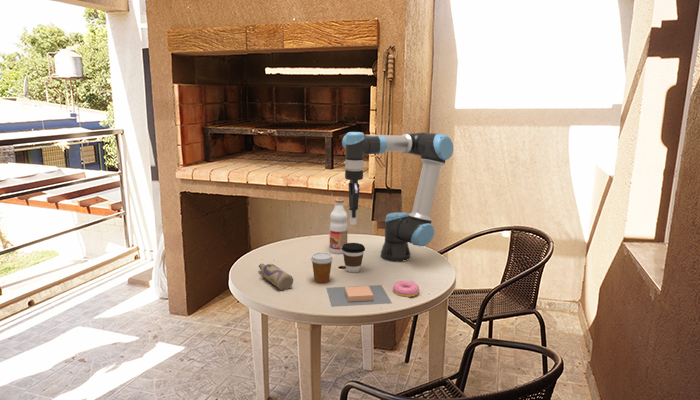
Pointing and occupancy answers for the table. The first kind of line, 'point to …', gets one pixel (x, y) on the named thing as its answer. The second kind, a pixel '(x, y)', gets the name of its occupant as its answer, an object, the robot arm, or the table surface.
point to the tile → (358, 293)
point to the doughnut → (405, 288)
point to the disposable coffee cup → (321, 267)
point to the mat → (340, 299)
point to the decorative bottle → (276, 276)
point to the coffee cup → (353, 256)
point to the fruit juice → (338, 227)
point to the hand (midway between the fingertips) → (353, 224)
